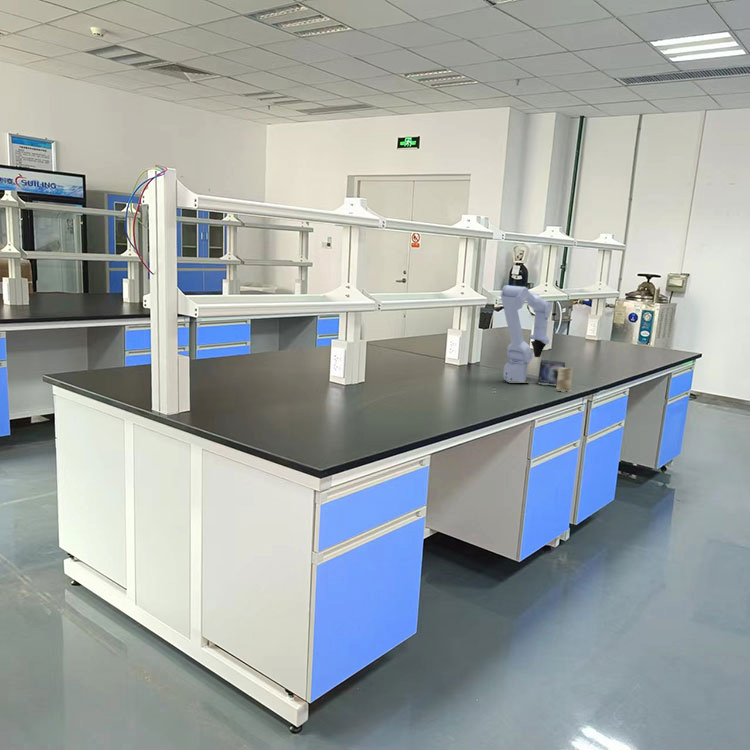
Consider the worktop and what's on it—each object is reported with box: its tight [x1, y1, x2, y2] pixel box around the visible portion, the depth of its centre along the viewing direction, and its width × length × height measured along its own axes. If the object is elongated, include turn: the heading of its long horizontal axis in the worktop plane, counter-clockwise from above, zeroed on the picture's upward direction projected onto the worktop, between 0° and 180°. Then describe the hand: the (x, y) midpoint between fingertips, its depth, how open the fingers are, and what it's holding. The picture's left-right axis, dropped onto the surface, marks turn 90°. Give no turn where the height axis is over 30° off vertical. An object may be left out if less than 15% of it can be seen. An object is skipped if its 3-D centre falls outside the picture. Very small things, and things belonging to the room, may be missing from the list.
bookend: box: [555, 367, 574, 392], centre depth 274 cm, size 6×3×10 cm, turn 103°
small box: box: [537, 359, 566, 385], centre depth 287 cm, size 11×6×10 cm, turn 73°
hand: (537, 356), depth 297 cm, fingers closed
